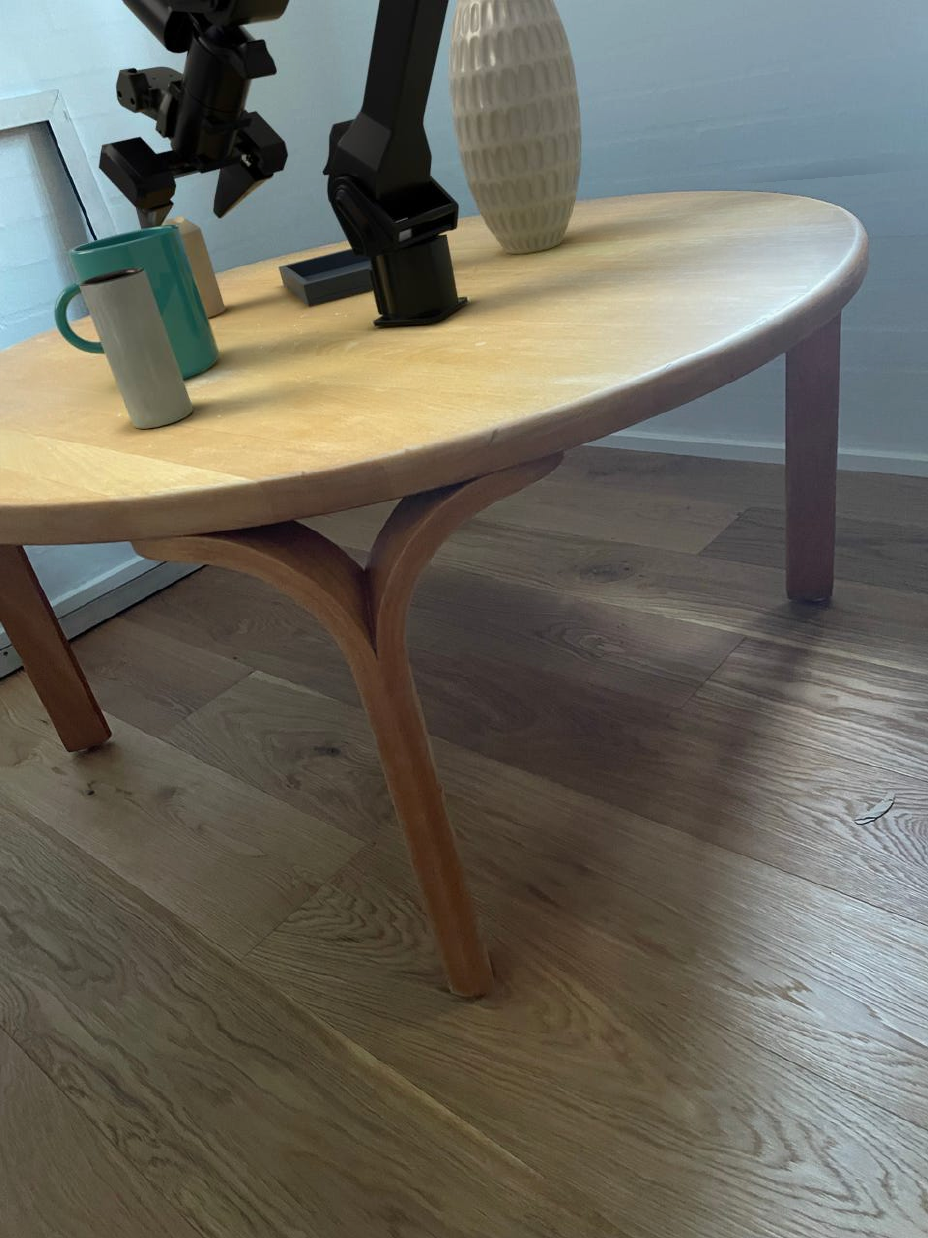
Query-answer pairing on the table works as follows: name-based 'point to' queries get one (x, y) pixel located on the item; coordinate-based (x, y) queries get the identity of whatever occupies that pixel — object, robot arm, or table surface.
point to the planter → (137, 347)
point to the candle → (200, 265)
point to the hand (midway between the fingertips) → (183, 225)
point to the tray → (327, 277)
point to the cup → (169, 284)
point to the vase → (516, 118)
